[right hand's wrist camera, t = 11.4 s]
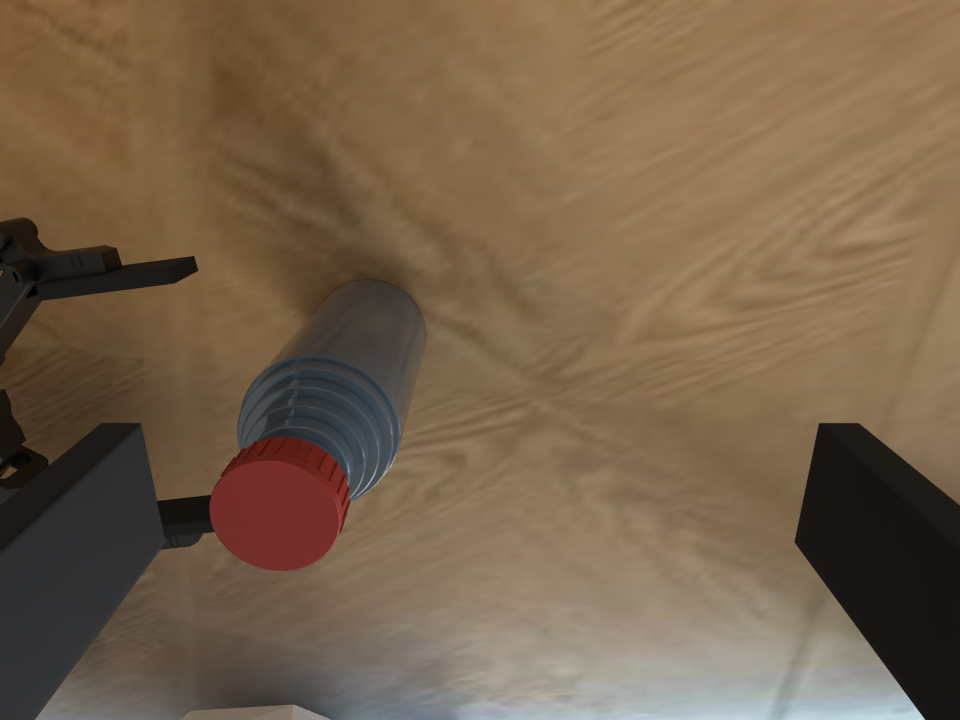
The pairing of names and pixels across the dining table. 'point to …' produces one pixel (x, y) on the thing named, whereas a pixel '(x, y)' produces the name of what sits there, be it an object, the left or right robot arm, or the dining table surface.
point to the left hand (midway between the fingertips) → (223, 397)
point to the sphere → (255, 714)
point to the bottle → (344, 381)
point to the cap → (280, 504)
